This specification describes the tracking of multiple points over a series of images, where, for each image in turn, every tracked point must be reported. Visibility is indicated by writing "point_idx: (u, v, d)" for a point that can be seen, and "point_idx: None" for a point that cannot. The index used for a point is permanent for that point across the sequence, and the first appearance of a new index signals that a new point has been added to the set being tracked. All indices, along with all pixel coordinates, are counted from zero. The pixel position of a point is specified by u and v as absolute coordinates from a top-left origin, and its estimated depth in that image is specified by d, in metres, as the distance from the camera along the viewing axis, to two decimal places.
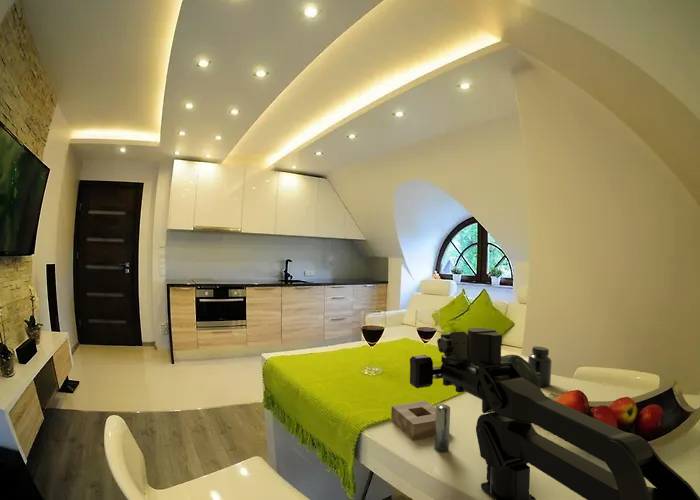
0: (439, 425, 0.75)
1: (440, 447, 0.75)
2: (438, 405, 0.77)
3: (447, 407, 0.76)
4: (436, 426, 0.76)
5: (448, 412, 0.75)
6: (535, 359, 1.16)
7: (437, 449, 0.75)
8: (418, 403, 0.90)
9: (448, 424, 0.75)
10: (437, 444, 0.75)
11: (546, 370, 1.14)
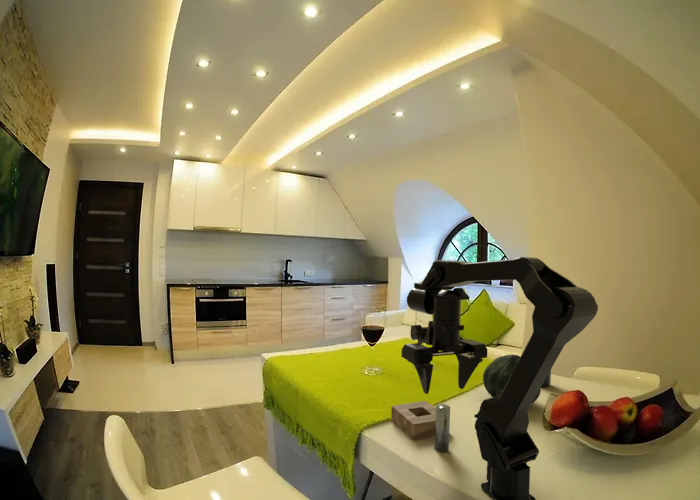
0: (439, 425, 0.75)
1: (440, 447, 0.75)
2: (438, 405, 0.77)
3: (447, 407, 0.76)
4: (436, 426, 0.76)
5: (448, 412, 0.75)
6: None
7: (437, 449, 0.75)
8: (418, 403, 0.90)
9: (448, 424, 0.75)
10: (437, 444, 0.75)
11: None
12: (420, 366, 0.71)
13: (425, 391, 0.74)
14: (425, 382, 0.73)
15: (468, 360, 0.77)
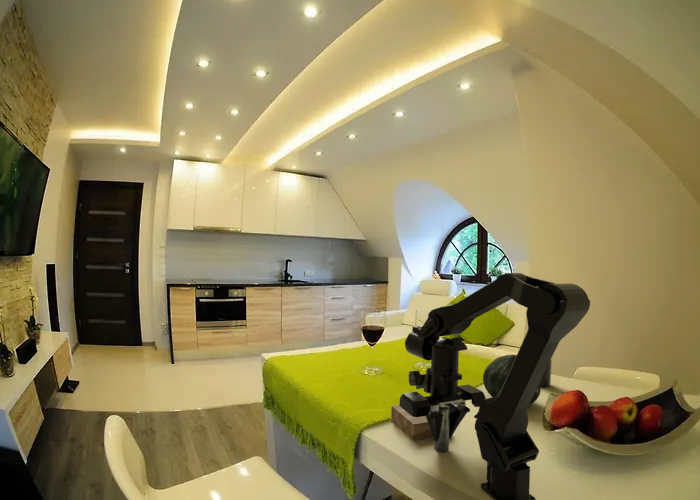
0: None
1: (440, 447, 0.75)
2: None
3: (447, 407, 0.76)
4: None
5: (448, 412, 0.75)
6: None
7: (437, 449, 0.75)
8: None
9: (448, 424, 0.75)
10: (437, 444, 0.75)
11: (546, 370, 1.14)
12: (430, 416, 0.72)
13: (435, 439, 0.75)
14: (435, 430, 0.74)
15: (455, 410, 0.75)
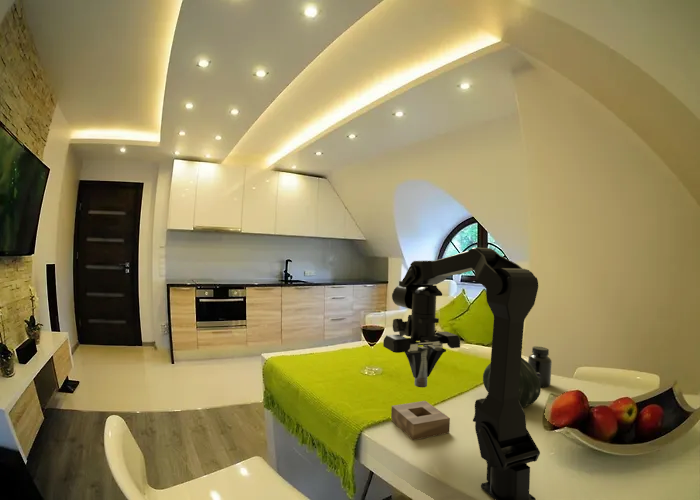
0: None
1: (419, 382, 0.84)
2: (418, 347, 0.86)
3: (426, 348, 0.85)
4: None
5: (426, 352, 0.84)
6: (535, 359, 1.16)
7: (416, 385, 0.85)
8: (418, 403, 0.90)
9: (426, 362, 0.85)
10: (417, 380, 0.85)
11: (546, 370, 1.14)
12: (410, 353, 0.81)
13: (414, 375, 0.85)
14: (414, 367, 0.83)
15: (433, 350, 0.85)
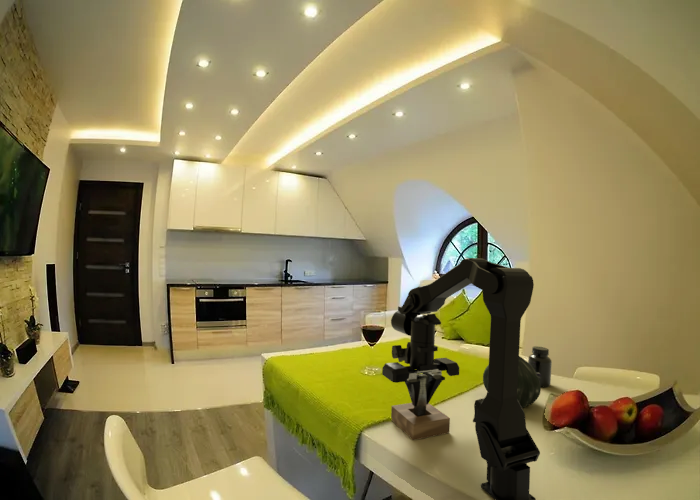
0: None
1: (418, 411, 0.84)
2: (417, 374, 0.86)
3: (425, 376, 0.85)
4: None
5: (425, 380, 0.84)
6: (535, 359, 1.16)
7: (416, 413, 0.85)
8: None
9: (425, 390, 0.85)
10: (416, 408, 0.85)
11: (546, 370, 1.14)
12: (409, 382, 0.81)
13: (413, 404, 0.84)
14: (413, 396, 0.83)
15: (432, 378, 0.85)
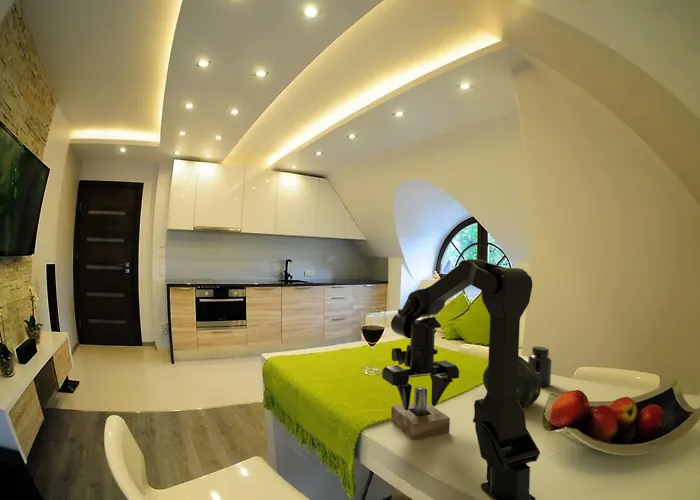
0: (417, 405, 0.84)
1: None
2: (416, 387, 0.86)
3: (424, 389, 0.85)
4: (414, 406, 0.85)
5: (425, 393, 0.84)
6: (535, 359, 1.16)
7: None
8: None
9: (425, 404, 0.85)
10: None
11: (546, 370, 1.14)
12: (400, 386, 0.81)
13: (405, 408, 0.84)
14: (405, 400, 0.83)
15: (440, 380, 0.86)
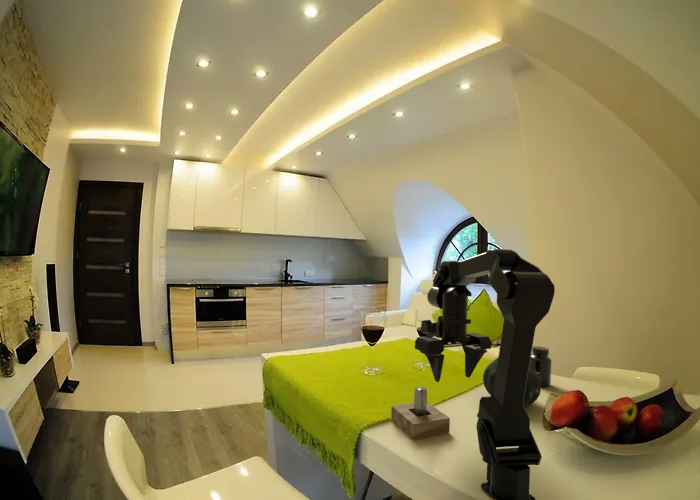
0: (417, 405, 0.84)
1: None
2: (416, 387, 0.86)
3: (424, 389, 0.85)
4: (414, 406, 0.85)
5: (425, 393, 0.84)
6: (535, 359, 1.16)
7: None
8: None
9: (425, 404, 0.85)
10: None
11: (546, 370, 1.14)
12: (433, 356, 0.78)
13: (436, 379, 0.81)
14: (437, 371, 0.80)
15: (474, 351, 0.85)
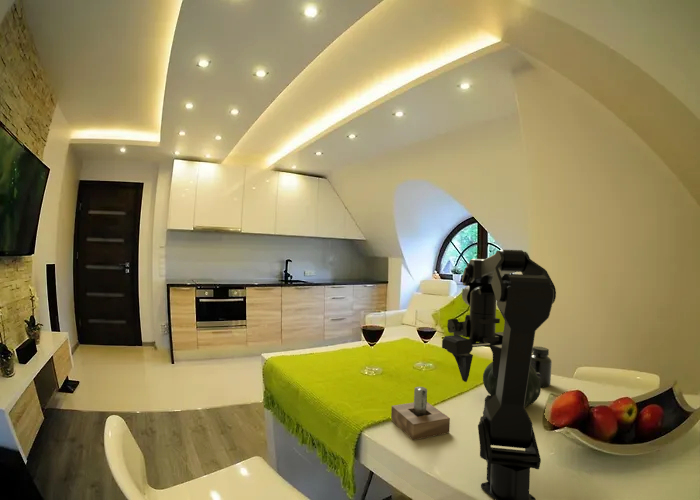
0: (417, 405, 0.84)
1: None
2: (416, 387, 0.86)
3: (424, 389, 0.85)
4: (414, 406, 0.85)
5: (425, 393, 0.84)
6: (536, 359, 1.16)
7: None
8: None
9: (425, 404, 0.85)
10: None
11: (546, 370, 1.14)
12: (461, 356, 0.77)
13: (464, 379, 0.80)
14: (465, 371, 0.79)
15: None
